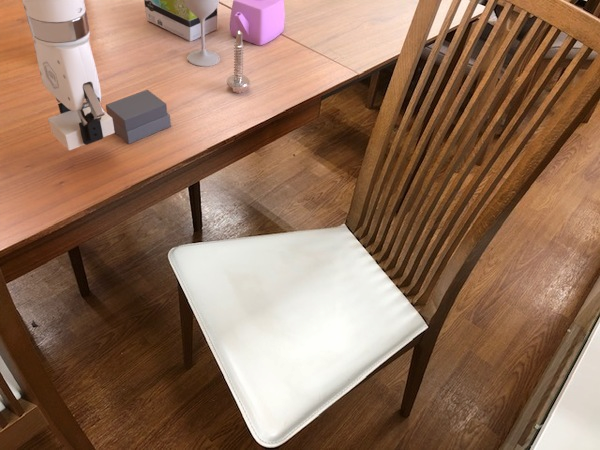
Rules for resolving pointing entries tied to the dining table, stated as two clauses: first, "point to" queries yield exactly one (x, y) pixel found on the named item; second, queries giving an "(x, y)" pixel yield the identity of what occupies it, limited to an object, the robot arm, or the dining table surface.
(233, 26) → the teapot
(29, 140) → the dining table surface
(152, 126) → the grey stack
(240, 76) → the screw
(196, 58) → the wineglass
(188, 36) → the tea box
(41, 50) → the robot arm
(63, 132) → the white block
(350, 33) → the dining table surface
